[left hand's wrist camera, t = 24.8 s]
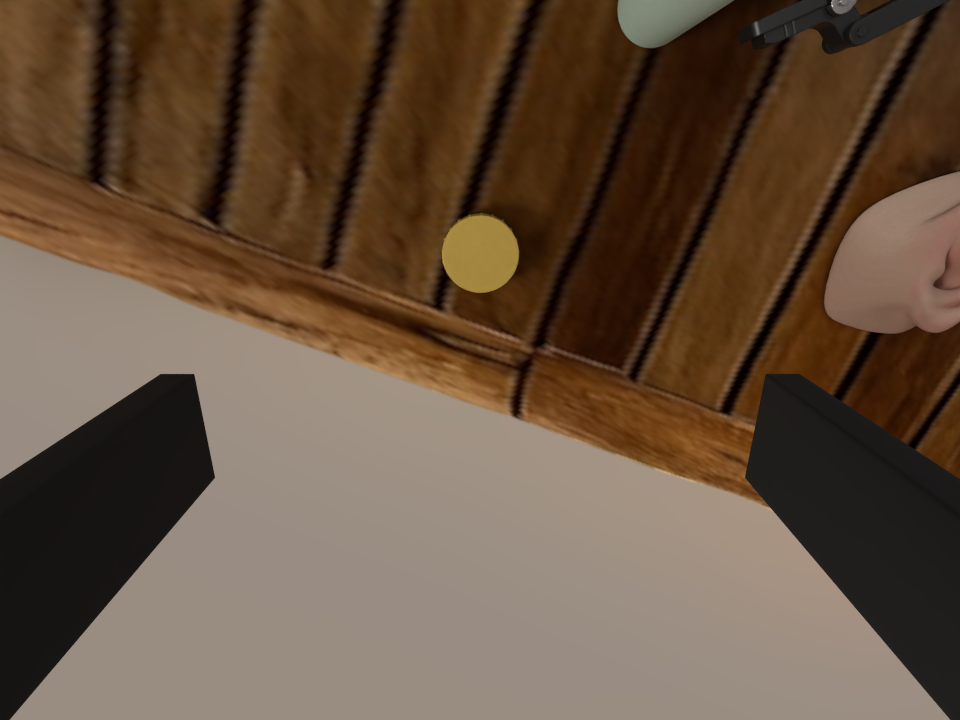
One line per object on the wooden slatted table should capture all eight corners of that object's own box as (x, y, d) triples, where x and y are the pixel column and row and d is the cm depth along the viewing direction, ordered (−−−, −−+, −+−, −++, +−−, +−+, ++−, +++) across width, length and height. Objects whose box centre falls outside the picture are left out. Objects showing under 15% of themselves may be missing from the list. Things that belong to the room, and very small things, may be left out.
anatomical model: (855, 363, 38) (863, 200, 34) (821, 345, 42) (826, 197, 38) (1048, 329, 37) (1079, 158, 33) (996, 314, 41) (1019, 159, 37)
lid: (517, 209, 39) (518, 211, 37) (519, 286, 41) (521, 291, 39) (439, 214, 39) (438, 216, 37) (446, 290, 41) (444, 296, 39)
